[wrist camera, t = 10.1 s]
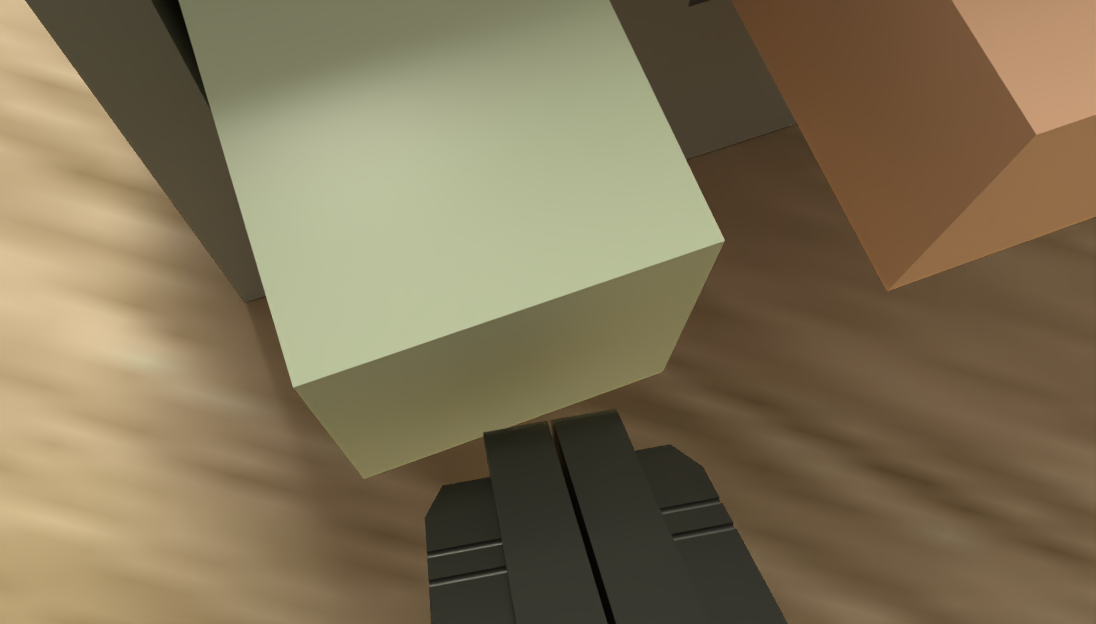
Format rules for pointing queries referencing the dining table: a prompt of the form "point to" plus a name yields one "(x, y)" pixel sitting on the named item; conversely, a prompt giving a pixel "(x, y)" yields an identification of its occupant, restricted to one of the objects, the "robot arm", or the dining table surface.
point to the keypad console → (195, 149)
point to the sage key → (452, 208)
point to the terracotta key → (940, 118)
